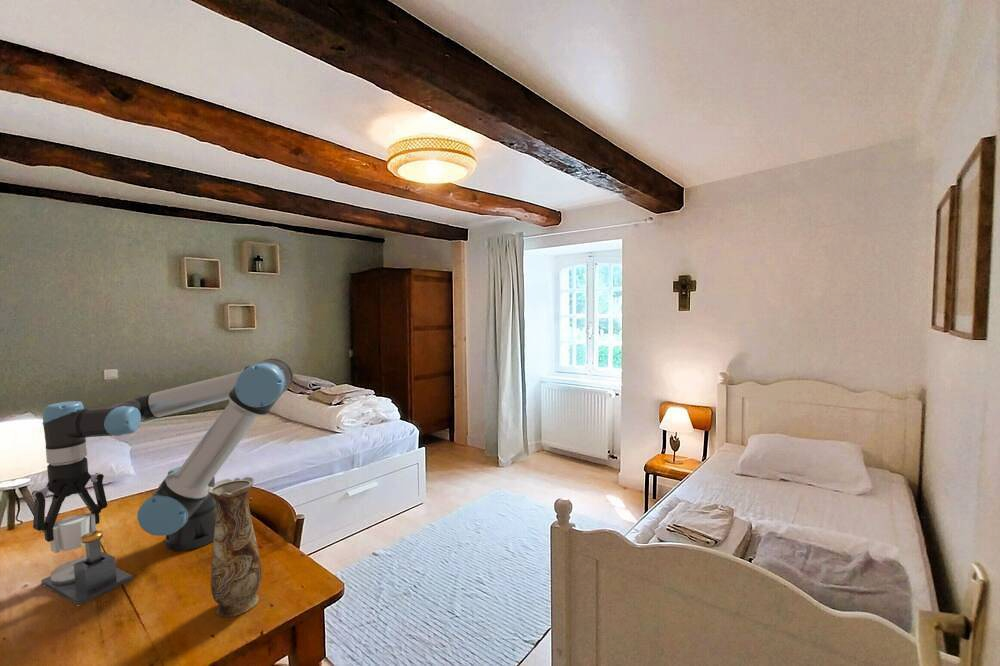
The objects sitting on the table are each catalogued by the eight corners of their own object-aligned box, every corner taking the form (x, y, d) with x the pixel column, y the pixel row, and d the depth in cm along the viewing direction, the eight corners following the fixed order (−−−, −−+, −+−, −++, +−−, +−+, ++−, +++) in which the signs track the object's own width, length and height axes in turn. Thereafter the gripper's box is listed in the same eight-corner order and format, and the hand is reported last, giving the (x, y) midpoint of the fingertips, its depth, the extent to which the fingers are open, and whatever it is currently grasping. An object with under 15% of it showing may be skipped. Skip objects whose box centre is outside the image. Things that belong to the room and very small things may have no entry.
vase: (208, 625, 97) (199, 498, 95) (218, 596, 107) (210, 480, 105) (260, 611, 102) (253, 489, 99) (264, 584, 111) (258, 473, 109)
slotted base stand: (132, 579, 114) (130, 553, 114) (78, 606, 104) (75, 578, 104) (94, 561, 123) (92, 537, 122) (41, 584, 113) (39, 558, 112)
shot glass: (51, 554, 110) (48, 528, 110) (63, 541, 116) (60, 517, 116) (86, 547, 114) (84, 522, 113) (96, 535, 120) (94, 511, 119)
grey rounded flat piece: (110, 566, 118) (109, 560, 118) (61, 589, 109) (60, 582, 109) (92, 558, 122) (91, 552, 122) (43, 578, 113) (43, 572, 113)
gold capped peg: (108, 562, 112) (105, 532, 111) (88, 571, 108) (85, 540, 108) (100, 558, 114) (98, 529, 113) (80, 567, 110) (78, 536, 109)
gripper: (106, 447, 124) (112, 523, 125) (7, 471, 106) (15, 560, 108) (120, 450, 121) (126, 529, 122) (19, 476, 103) (28, 568, 104)
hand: (74, 543), depth 115 cm, fingers closed on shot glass, 7 cm apart
